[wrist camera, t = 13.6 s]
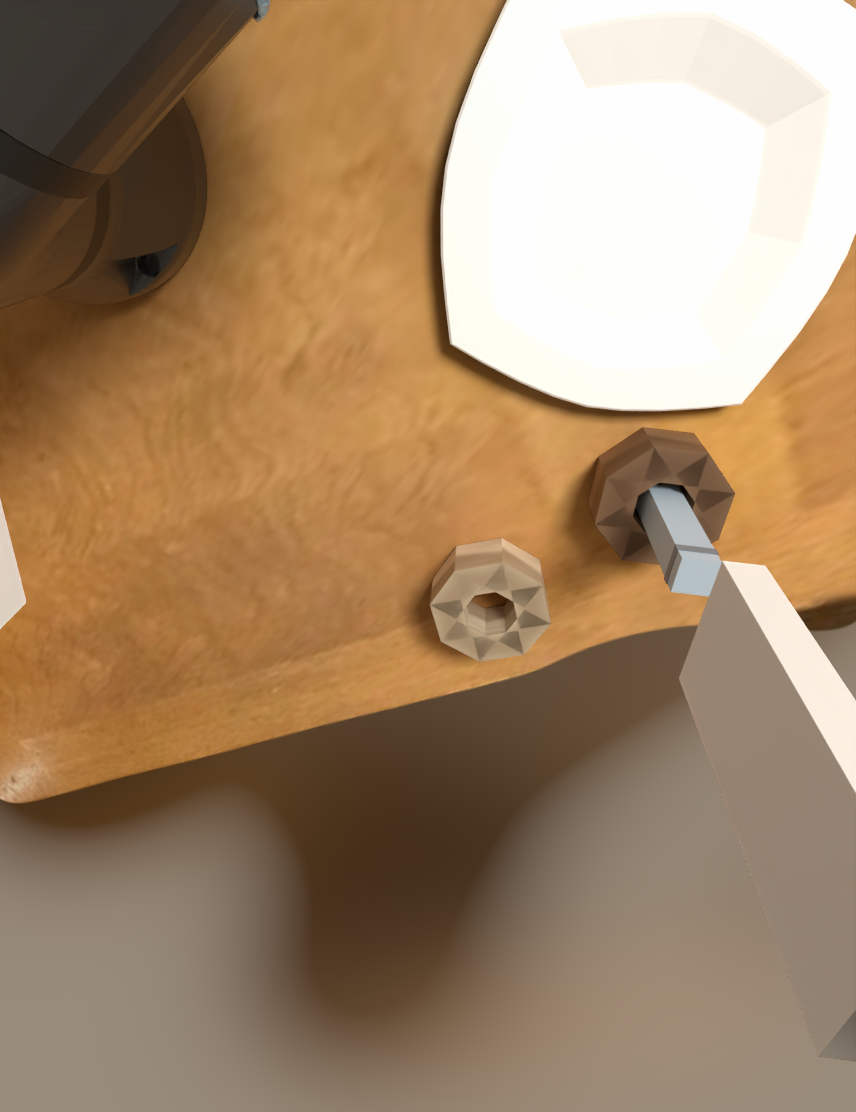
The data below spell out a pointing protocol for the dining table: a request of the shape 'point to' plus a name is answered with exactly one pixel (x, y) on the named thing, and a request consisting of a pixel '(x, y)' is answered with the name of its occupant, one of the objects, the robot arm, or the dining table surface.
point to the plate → (649, 194)
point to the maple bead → (496, 626)
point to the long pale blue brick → (678, 540)
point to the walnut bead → (642, 468)
